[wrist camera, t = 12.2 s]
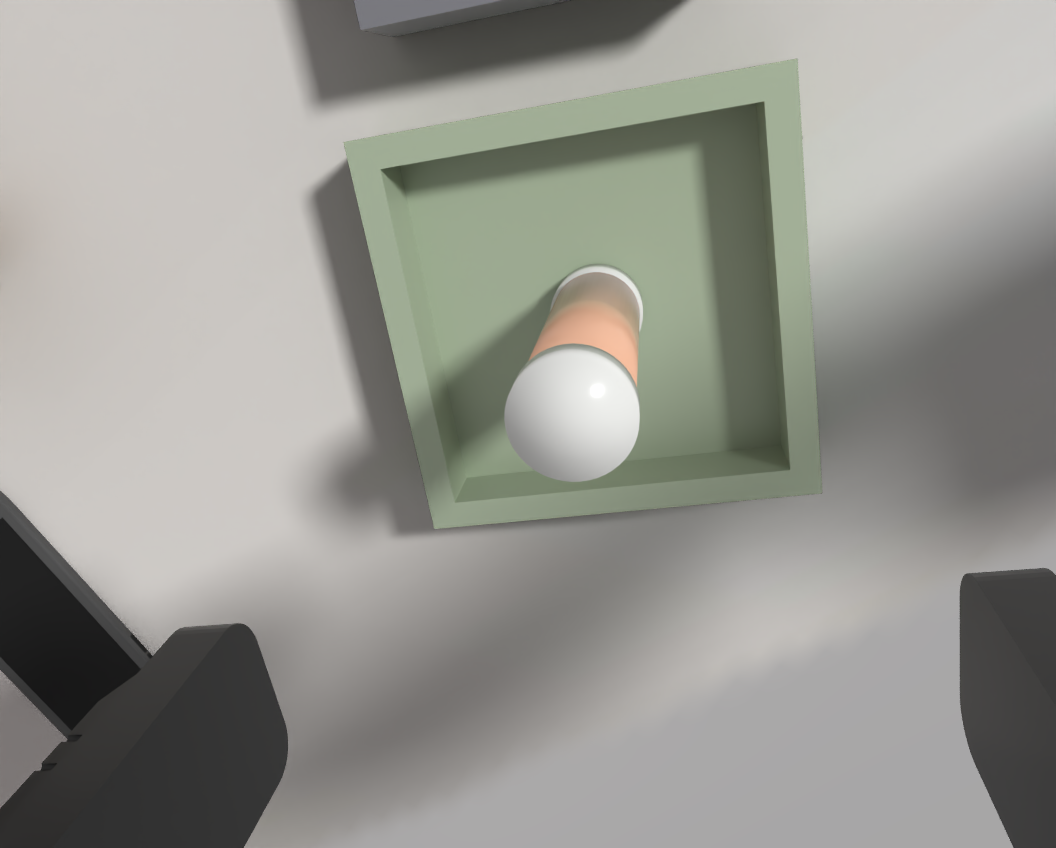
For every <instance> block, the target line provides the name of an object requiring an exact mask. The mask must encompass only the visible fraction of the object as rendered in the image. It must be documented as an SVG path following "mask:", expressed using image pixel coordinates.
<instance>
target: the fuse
mask: <svg viewBox="0 0 1056 848" xmlns="http://www.w3.org/2000/svg"><path fill="white" fill-rule="evenodd" d="M642 321H643V300H642V296H641V293H640V290H639V288H638V286H637V285H636V283H635V282H634V280H633V279H632V278H631V277H630V276H629V275H628V274H627V273H625V272H624V271H622V270H621V269H619V268H617V267H614V266H611V265H607V264H598V263H597V264H589V265H585V266H582V267H579V268H577V269H575V270H574V271H572V272H571V273H569V274H568V275H567V276H566V277H565V278H564V279H563V281H562V282H561V283H560V285H559V287H558V289H557V291H556V293H555V295H554V297H553V300H552V303H551V309H550V313H549V316H548V318H547V320H546V322H545V325H544V327H543V329H542V331H541V334H540V336H539V338H538V340H537V343H536V345H535V347H534V349H533V352H532V354H531V356H530V358H529V361H528V362H527V363H526V364H525V365H524V367H523V368H522V369H521V371H520V372H519V374H518V376H517V378H516V380H515V382H514V384H513V386H512V389H511V391H510V393H509V395H508V398H507V401H506V405H505V413H504V421H505V428H506V432H507V436H508V438H509V441H510V443H511V445H512V447H513V448H514V450H515V452H516V453H517V454H518V456H519V457H520V458H521V459H522V460H523V461H524V462H525V463H526V464H527V465H528V466H530V467H531V468H532V469H534V470H535V471H537V472H538V473H540V474H542V475H545V476H547V477H549V478H553V479H556V480H561V481H568V482H582V481H588V480H592V479H596V478H599V477H601V476H603V475H606V474H607V473H609V472H611V471H612V470H614V469H615V468H616V467H618V466H619V465H620V464H621V463H622V462H623V461H624V460H625V459H626V458H627V456H628V455H629V453H630V452H631V450H632V448H633V447H634V444H635V442H636V439H637V436H638V431H639V421H640V399H639V394H638V389H637V371H638V349H639V332H640V329H641V326H642Z"/></svg>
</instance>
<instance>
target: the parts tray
mask: <svg viewBox="0 0 1056 848" xmlns="http://www.w3.org/2000/svg"><path fill="white" fill-rule="evenodd" d="M344 147H345V151H346V155H347V159H348V164H349V168H350V172H351V176H352V181H353V185H354V189H355V194H356V198H357V202H358V206H359V211H360V215H361V219H362V223H363V228H364V232H365V236H366V240H367V245H368V249H369V253H370V257H371V262H372V266H373V270H374V274H375V279H376V283H377V287H378V291H379V296H380V300H381V304H382V308H383V313H384V317H385V321H386V325H387V330H388V334H389V338H390V342H391V347H392V351H393V355H394V359H395V364H396V368H397V372H398V376H399V381H400V385H401V389H402V393H403V398H404V402H405V406H406V410H407V415H408V419H409V423H410V427H411V432H412V436H413V440H414V445H415V449H416V453H417V457H418V462H419V466H420V470H421V474H422V479H423V483H424V487H425V491H426V496H427V500H428V504H429V508H430V513H431V517H432V521H433V525H434V529H441V528H452V527H463V526H474V525H484V524H495V523H506V522H517V521H528V520H539V519H550V518H561V517H571V516H582V515H593V514H604V513H615V512H626V511H637V510H647V509H658V508H669V507H680V506H691V505H702V504H713V503H724V502H734V501H745V500H756V499H767V498H778V497H789V496H800V495H810V494H821V493H822V480H821V463H820V445H819V428H818V410H817V393H816V375H815V358H814V340H813V323H812V305H811V288H810V270H809V253H808V235H807V217H806V200H805V182H804V165H803V147H802V130H801V112H800V95H799V77H798V60H797V59H792V60H787V61H781V62H776V63H770V64H765V65H760V66H754V67H749V68H743V69H738V70H732V71H727V72H722V73H716V74H711V75H705V76H700V77H694V78H689V79H684V80H678V81H673V82H667V83H662V84H657V85H651V86H646V87H640V88H635V89H629V90H624V91H619V92H613V93H608V94H602V95H597V96H591V97H586V98H581V99H575V100H570V101H564V102H559V103H553V104H548V105H543V106H537V107H532V108H526V109H521V110H516V111H510V112H505V113H499V114H494V115H488V116H483V117H478V118H472V119H467V120H461V121H456V122H450V123H445V124H440V125H434V126H429V127H423V128H418V129H412V130H407V131H402V132H396V133H391V134H385V135H380V136H375V137H369V138H364V139H358V140H353V141H347V142H344ZM597 263H598V264H607V265H611V266H614V267H617V268H619V269H621V270H622V271H624V272H625V273H627V274H628V275H629V276H630V277H631V278H632V279H633V280H634V282H635V283H636V285H637V286H638V288H639V290H640V293H641V296H642V300H643V321H642V326H641V329H640V332H639V349H638V371H637V389H638V394H639V399H640V421H639V431H638V436H637V439H636V442H635V444H634V447H633V448H632V450H631V452H630V453H629V455H628V456H627V458H626V459H625V460H624V461H623V462H622V463H621V464H620V465H619V466H618V467H616V468H615V469H614V470H612V471H611V472H609V473H607V474H606V475H603V476H601V477H599V478H596V479H592V480H588V481H582V482H568V481H561V480H556V479H553V478H549V477H547V476H545V475H542V474H540V473H538V472H537V471H535V470H534V469H532V468H531V467H530V466H528V465H527V464H526V463H525V462H524V461H523V460H522V459H521V458H520V457H519V456H518V454H517V453H516V452H515V450H514V448H513V447H512V445H511V443H510V441H509V438H508V436H507V432H506V428H505V421H504V413H505V405H506V401H507V398H508V395H509V393H510V391H511V389H512V386H513V384H514V382H515V380H516V378H517V376H518V374H519V372H520V371H521V369H522V368H523V367H524V365H525V364H526V363H527V362H528V361H529V358H530V356H531V354H532V352H533V349H534V347H535V345H536V343H537V340H538V338H539V336H540V334H541V331H542V329H543V327H544V325H545V322H546V320H547V318H548V316H549V313H550V309H551V303H552V300H553V297H554V295H555V293H556V291H557V289H558V287H559V285H560V283H561V282H562V281H563V279H564V278H565V277H566V276H567V275H568V274H569V273H571V272H572V271H574V270H575V269H577V268H579V267H582V266H585V265H589V264H597Z"/></svg>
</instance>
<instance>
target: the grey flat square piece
mask: <svg viewBox="0 0 1056 848" xmlns="http://www.w3.org/2000/svg"><path fill="white" fill-rule="evenodd" d="M565 1H569V0H354V3H355V8H356V13H357V17H358V22H359V26H360V30H362V31H367V32H372V33H377V34H382V35H386V36H391V37H395V36H400V35H405V34H410V33H415V32H419V31H424V30H429V29H434V28H439V27H444V26H448V25H453V24H458V23H463V22H468V21H473V20H477V19H482V18H487V17H492V16H497V15H502V14H506V13H511V12H516V11H521V10H526V9H531V8H536V7H540V6H545V5H550V4H555V3H560V2H565Z"/></svg>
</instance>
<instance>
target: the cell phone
mask: <svg viewBox="0 0 1056 848" xmlns="http://www.w3.org/2000/svg"><path fill="white" fill-rule="evenodd" d="M152 657H153V656H152V655H151V654H150V653H149V652H148V650H147V649H146V648H145V647H144V646H143V645H142V644H141V643H140V642H139V641H138V639H137V638H136V637H135V636H134V635H133V634H132V633H131V632H130V631H129V630H128V628H127V627H126V626H125V625H124V624H123V623H122V622H121V621H120V620H119V619H118V617H117V616H116V615H115V614H114V613H113V612H112V611H111V610H110V609H109V608H108V607H107V605H106V604H105V603H104V602H103V601H102V600H101V599H100V598H99V597H98V596H97V594H96V593H95V592H94V591H93V590H92V589H91V588H90V587H89V586H88V585H87V584H86V582H85V581H84V580H83V579H82V578H81V577H80V576H79V575H78V574H77V573H76V571H75V570H74V569H73V568H72V567H71V566H70V565H69V564H68V563H67V562H66V560H65V559H64V558H63V557H62V556H61V555H60V554H59V553H58V552H57V551H56V550H55V548H54V547H53V546H52V545H51V544H50V543H49V542H48V541H47V540H46V539H45V537H44V536H43V535H42V534H41V533H40V532H39V531H38V530H37V529H36V528H35V526H34V525H33V524H32V523H31V522H30V521H29V520H28V519H27V518H26V517H25V516H24V514H23V513H22V512H21V511H20V510H19V509H18V508H17V507H16V506H15V505H14V504H13V503H12V501H11V500H10V499H9V498H8V497H7V496H5V495H4V494H3V493H2V492H1V491H0V670H1V671H2V672H3V673H4V674H5V675H6V676H7V677H8V678H9V679H10V680H11V681H12V682H13V683H14V684H15V685H16V686H17V687H18V689H19V690H20V691H21V692H22V693H23V694H24V695H25V696H26V697H27V698H28V699H29V700H30V701H31V702H32V703H33V704H34V705H35V706H36V707H37V708H38V709H39V710H40V711H41V712H42V713H43V714H44V715H45V716H46V717H47V718H48V719H49V720H50V721H51V723H52V724H53V725H54V726H55V727H56V728H57V729H58V730H59V731H60V732H61V733H62V734H63V735H64V736H65V737H66V738H67V739H68V734H69V733H70V732H71V731H72V730H73V729H74V728H75V726H76V725H77V724H78V723H79V722H80V721H81V720H82V719H83V718H84V717H85V715H86V714H87V713H88V712H89V711H90V710H91V709H92V708H93V707H94V706H95V705H96V703H97V702H98V701H100V700H101V699H102V698H104V697H105V696H107V695H108V694H109V693H111V692H112V691H114V690H115V689H116V688H118V687H119V686H121V685H122V684H123V683H125V682H126V681H128V680H129V679H130V678H132V677H133V676H135V675H136V674H137V673H138V672H139V671H140V670H141V669H142V668H143V667H144V666H145V664H146V663H147V662H148V661H149V660H150V659H151V658H152Z"/></svg>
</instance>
